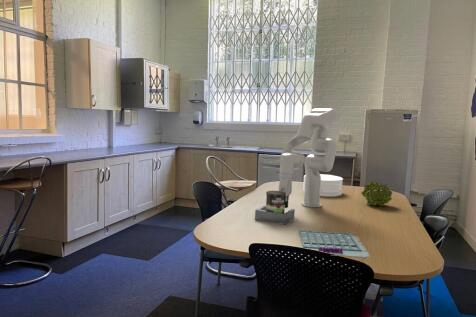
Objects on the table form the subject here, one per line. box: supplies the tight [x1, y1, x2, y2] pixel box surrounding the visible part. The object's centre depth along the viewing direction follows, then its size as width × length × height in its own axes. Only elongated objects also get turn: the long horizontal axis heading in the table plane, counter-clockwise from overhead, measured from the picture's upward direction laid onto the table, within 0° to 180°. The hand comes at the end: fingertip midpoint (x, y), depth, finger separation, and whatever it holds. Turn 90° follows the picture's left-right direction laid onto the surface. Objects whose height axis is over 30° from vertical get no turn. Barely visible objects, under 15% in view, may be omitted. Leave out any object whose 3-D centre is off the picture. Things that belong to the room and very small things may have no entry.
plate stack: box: [302, 173, 344, 197], centre depth 267 cm, size 28×28×12 cm
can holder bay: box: [254, 204, 296, 225], centre depth 192 cm, size 14×17×5 cm
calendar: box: [298, 229, 372, 259], centre depth 157 cm, size 27×28×2 cm
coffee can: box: [265, 190, 286, 214], centre depth 192 cm, size 10×10×14 cm
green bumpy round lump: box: [360, 180, 393, 207], centre depth 231 cm, size 18×16×16 cm
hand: (284, 207), depth 205 cm, fingers closed
